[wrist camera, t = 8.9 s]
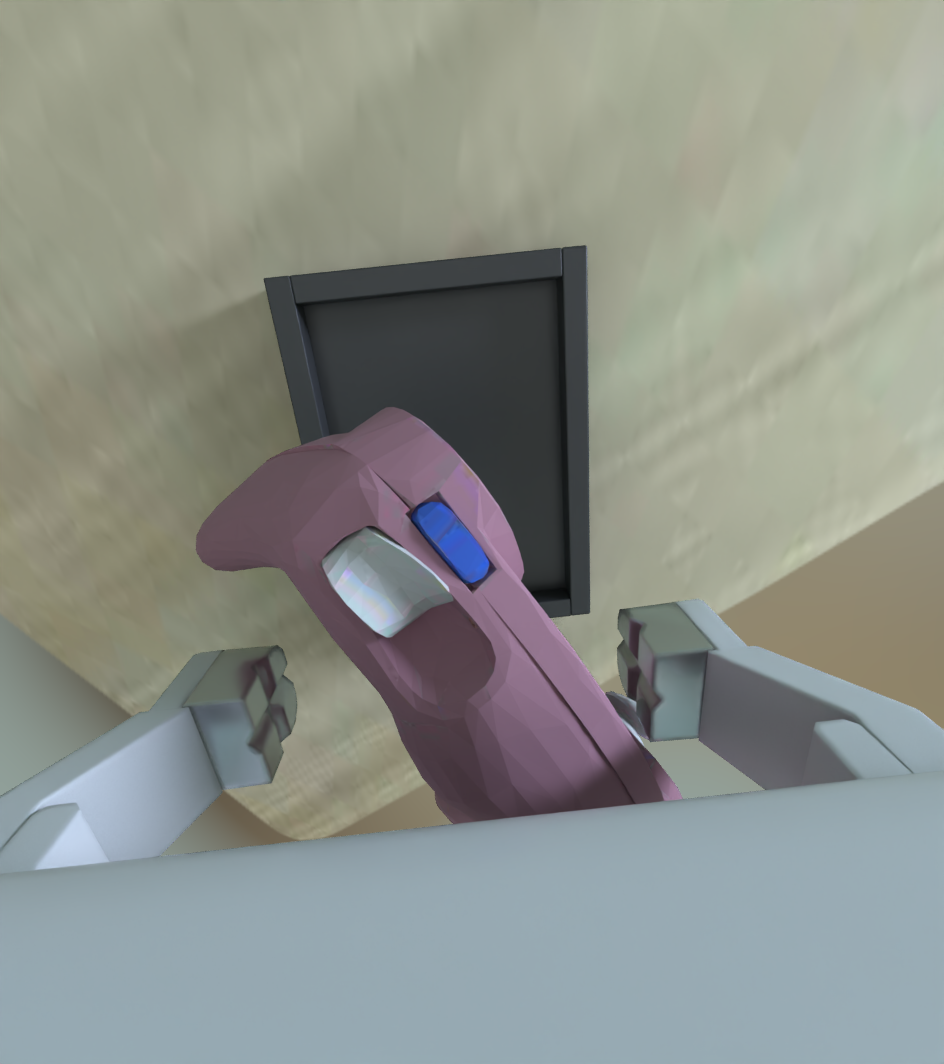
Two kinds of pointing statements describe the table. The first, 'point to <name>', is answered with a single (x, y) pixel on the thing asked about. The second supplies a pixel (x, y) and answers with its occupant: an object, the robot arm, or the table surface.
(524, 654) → the video game controller
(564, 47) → the table surface
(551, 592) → the black rectangular tray
